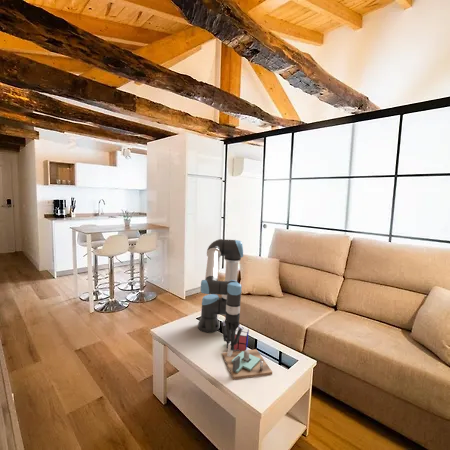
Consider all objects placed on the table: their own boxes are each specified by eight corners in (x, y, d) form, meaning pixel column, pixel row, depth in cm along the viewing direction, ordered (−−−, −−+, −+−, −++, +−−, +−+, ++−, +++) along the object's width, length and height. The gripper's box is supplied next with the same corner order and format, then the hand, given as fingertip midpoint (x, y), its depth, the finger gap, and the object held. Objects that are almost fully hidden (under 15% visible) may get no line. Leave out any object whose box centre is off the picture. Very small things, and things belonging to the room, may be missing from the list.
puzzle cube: (245, 352, 158) (247, 336, 157) (229, 349, 160) (230, 333, 159) (247, 343, 168) (248, 328, 167) (232, 341, 170) (233, 326, 169)
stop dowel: (259, 369, 140) (259, 361, 139) (261, 369, 140) (262, 360, 140) (260, 371, 138) (261, 362, 138) (263, 370, 139) (263, 362, 138)
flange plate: (242, 352, 154) (243, 341, 154) (260, 360, 147) (261, 348, 147) (223, 368, 138) (224, 356, 137) (243, 378, 131) (244, 365, 131)
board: (222, 354, 153) (222, 343, 153) (256, 351, 160) (257, 339, 159) (233, 379, 132) (234, 366, 132) (272, 374, 138) (273, 361, 138)
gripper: (218, 311, 137) (215, 354, 138) (240, 317, 130) (237, 362, 132) (225, 307, 143) (222, 348, 145) (246, 313, 137) (243, 355, 138)
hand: (229, 355), depth 138 cm, fingers closed
